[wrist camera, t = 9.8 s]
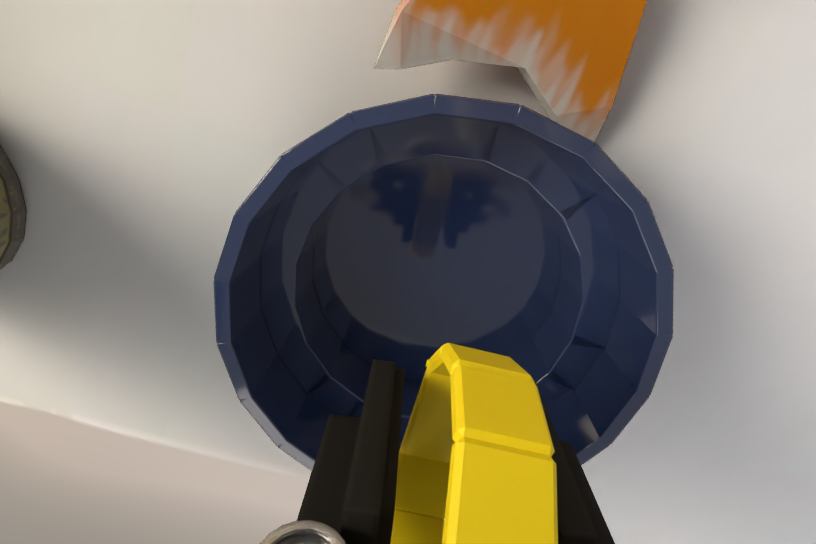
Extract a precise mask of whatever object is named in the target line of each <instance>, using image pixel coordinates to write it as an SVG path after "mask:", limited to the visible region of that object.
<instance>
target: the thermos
mask: <svg viewBox="0 0 816 544" xmlns="http://www.w3.org/2000/svg"><path fill="white" fill-rule="evenodd" d="M25 217H26V208H25V204H24V200H23V196H22V191H21V187H20V183H19V179H18V177H17V175H16V173H15V172H14V170H13V168H12V166H11V164H10V162H9V161H8V159H7V157H6V155H5V153H4V151H3V150H2V148H1V146H0V269H1V268H2V267H4V266H5V265H6V264H8V263H9V262H10V261H12V259H13V257H14V256H15V254H16V252H17V250H18V248H19V246H20V244H21V242H22V241H23V239H24V229H25Z"/></svg>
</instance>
